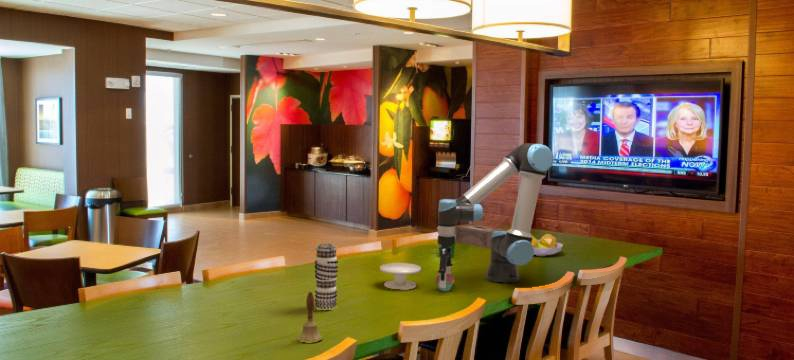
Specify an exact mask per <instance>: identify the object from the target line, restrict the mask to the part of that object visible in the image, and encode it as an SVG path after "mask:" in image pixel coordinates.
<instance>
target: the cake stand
mask: <svg viewBox="0 0 794 360" xmlns="http://www.w3.org/2000/svg"><path fill="white" fill-rule="evenodd" d="M379 269H380V271H381V272H383V273H385V274H386V273H387V274H391V275H394V280H388V281H385V282H384V284H383V286H385V287H387V288H386V289H388V288H392V289H401V290H400V291H409V289H411V290H414V289H416V288H417V284H416V282H413V281H411V280H407V275H411V274H413V275H414V274H417V273H419V272H421V270H422V267H421V266H420V265H418V264H413V263H408V262H407V263H406V262H391V263H390V262H389V263H384V264H382V265H380V266H379ZM385 287H384V288H385ZM415 287H416V288H415ZM413 288H414V289H413ZM392 289H391V290H392Z"/></svg>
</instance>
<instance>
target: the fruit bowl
mask: <svg viewBox="0 0 794 360" xmlns="http://www.w3.org/2000/svg"><path fill="white" fill-rule="evenodd" d="M531 235H532V236H533V238H532V243H531V244H532V246H533V248H534V255H536V256H535V257H547V255H548V256H553V255H555V254H557V253H559V252H561V251H562V248H563V243H560V242H559V241H558V242H557V238H556V237H555V236H554V235H552V234H551V233H545V234H544V235H542V236H541V237H540V239H537V238H536V237H535V236H534V235H533V234H531ZM534 255H533V256H534Z"/></svg>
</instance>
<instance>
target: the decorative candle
mask: <svg viewBox="0 0 794 360" xmlns="http://www.w3.org/2000/svg"><path fill="white" fill-rule="evenodd" d="M315 250H316V256H315V260H314V269H315V270H314V273H315V274H314V279H315V282H316V286H315V291H314V296H315V297H314V307H317V308H319V309H333V308H335V306H336V307H337V305H338V303H337V301H338V299H337V297H338V295H337V293H338V291H337V281H336V280H338V275H337V274H336V273H337V272H339V271H338V268H339V266H338V265H337V264H338V263H339V261H338V258H337V250H338V248H337V247H336V246H335V245H334V244H333V243H321V244H319V245H318V246H317V247H316V248H315Z"/></svg>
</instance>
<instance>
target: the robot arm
mask: <svg viewBox="0 0 794 360" xmlns="http://www.w3.org/2000/svg"><path fill="white" fill-rule="evenodd" d="M502 159H503V160H502V162H500V163H499V164H498V165H497V166H496V167H495V168H493V169H492V170H491V171H489V172H488V173H487V174H486V175H485V176H483V178H482V179H480V180H479V181H478V182H477V183H475V185H473V186H472V187H470V189H468V190H467V191H466V192H464V193H463V194H462V195H461V196H460V197H459V198H455V199H450V198H449V199H448V198H443V199H440V200H439V201H438V208H437V209H438V210H437V212H438V216H437V217H438V218H437V219H438V220H437V227H436V229H437V244H438V246H439V245H442V246H443V247H442V249H441V256H440V255H439V269H438V270H437V273H438V274H439V275H440V282H439V286H438V289H439V288H446V274H450V275H451V271H452V270H451V267H453V263H452V258H451V245H454V244H455V245H456V231H455V230H456V226H457V224H456V222H458V223H459V222H479V221H480V222H481V220H483V217H484V208H483V206H482V205H481V202H482V201H483V200H484V199H485V198H487V197H488V196H489V195H491V193H493V192H494V191H495V190H496V189H497V188H499V187H500V186H501V185H503V184H504V183H505V182H506V181H507V180H508V179H509V178H510V177H512V176H514V175H518V174H519V173H520V174H521V180H520V184H519V188H518V189H519V190H518V194H517V199H516V203H515V208H514V213H513V218H512V221H511V227H510V229H508V230H504V231H494V232H492V236H491V248H490V262H489V265H488V268H487V270H486V271H487V272H486V273H485V274H486V275H485V276H486V277H485V279H486V280H487V281H489V282H492V281H493V283H497V282H503V283H502V284H508V283H507V282H514V283H516V282H515V281H518V280H519V281H520V274H519V271H518V268H517V267H518V266H524V265H527V264H529V262H530V261H531V260H532V259H533V257H534V248H533V246H532V244H531V243H532V238H533V236H534V235H533V234H532V233H531V230H532V224H533V221H534V215H535V211H536V208H537V207H536V205H537V201H538V197H539V193H540V188H541V184H542V183H541V182H542V180H543V179H545V178H546V176H547V172H548V170H550V169H551V168H552V167H553V164H554V154H553V151H552V150H551V149H550V148H549V146H547V145H545V144H541V143H531V142H529V143H528V142H525V143H522V144H520V145H518V146H517V147H515V148H514V149H513V150H512V151H510V152H509V153H508V154H507V155H506V156H504V157H503V158H502ZM454 235H455V236H454ZM532 235H533V236H532ZM442 269H443V270H442ZM519 281H518V282H519Z"/></svg>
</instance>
